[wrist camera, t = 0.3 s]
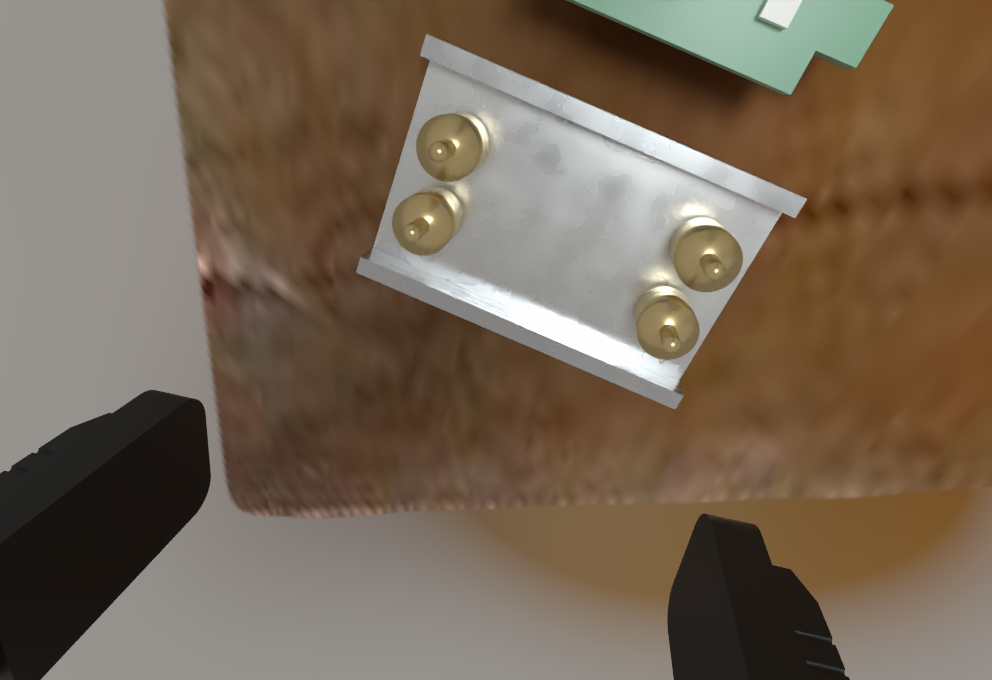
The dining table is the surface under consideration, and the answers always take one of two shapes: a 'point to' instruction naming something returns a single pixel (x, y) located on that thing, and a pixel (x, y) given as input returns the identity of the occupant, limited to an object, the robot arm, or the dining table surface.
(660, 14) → the board
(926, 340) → the dining table surface
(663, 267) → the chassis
